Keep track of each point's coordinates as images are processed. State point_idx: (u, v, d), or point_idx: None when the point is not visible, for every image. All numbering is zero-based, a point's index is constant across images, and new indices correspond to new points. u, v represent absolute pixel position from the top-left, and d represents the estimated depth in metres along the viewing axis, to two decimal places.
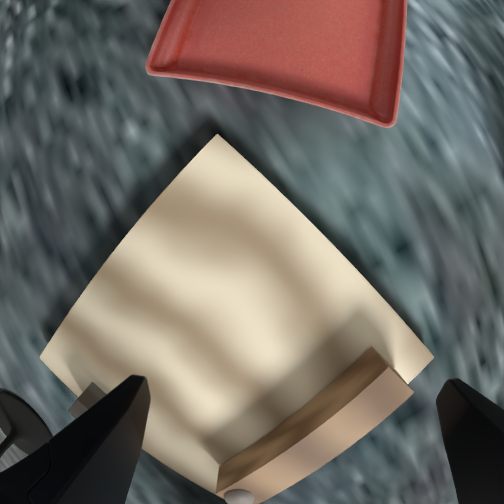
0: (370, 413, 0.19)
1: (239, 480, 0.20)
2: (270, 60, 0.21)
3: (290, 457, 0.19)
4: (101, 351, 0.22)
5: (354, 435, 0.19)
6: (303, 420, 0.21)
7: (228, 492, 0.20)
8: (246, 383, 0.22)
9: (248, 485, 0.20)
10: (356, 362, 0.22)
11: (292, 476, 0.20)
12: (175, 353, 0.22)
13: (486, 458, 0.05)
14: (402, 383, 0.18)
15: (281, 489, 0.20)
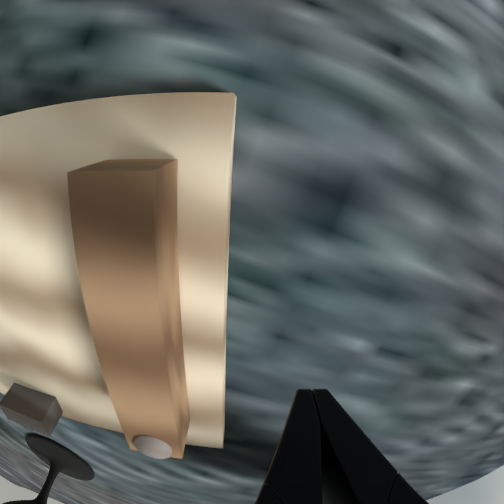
0: (119, 254, 0.11)
1: (121, 424, 0.16)
2: None
3: (116, 374, 0.14)
4: None
5: (143, 302, 0.12)
6: None
7: (135, 443, 0.16)
8: (57, 304, 0.17)
9: (135, 428, 0.15)
10: None
11: (155, 399, 0.14)
12: (8, 315, 0.17)
13: (331, 493, 0.05)
14: (112, 174, 0.10)
15: (171, 421, 0.15)
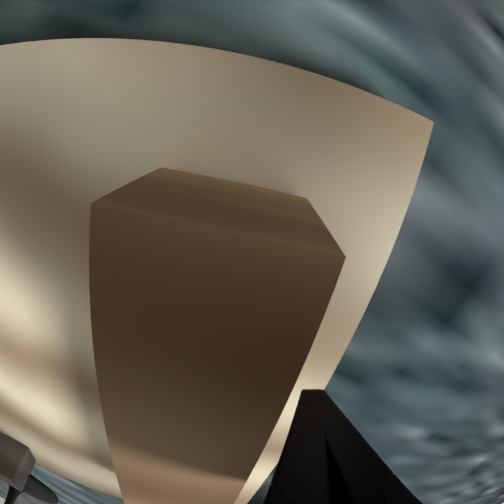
0: (203, 399, 0.05)
1: None
2: None
3: (144, 501, 0.07)
4: None
5: (228, 458, 0.06)
6: None
7: None
8: (44, 366, 0.10)
9: None
10: None
11: None
12: None
13: None
14: (231, 242, 0.04)
15: None
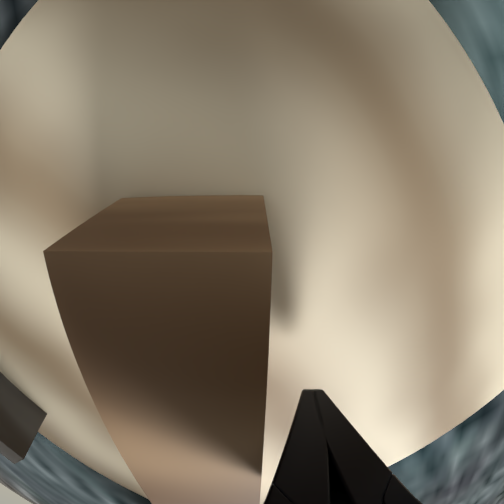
0: (187, 408, 0.05)
1: None
2: None
3: None
4: None
5: (233, 461, 0.06)
6: None
7: None
8: None
9: None
10: None
11: None
12: None
13: None
14: (158, 261, 0.04)
15: None
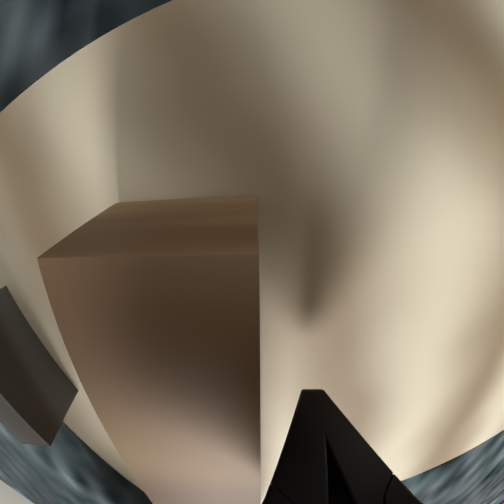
0: (183, 409, 0.05)
1: None
2: None
3: None
4: (47, 226, 0.08)
5: (231, 461, 0.06)
6: None
7: None
8: (346, 402, 0.10)
9: None
10: None
11: None
12: None
13: None
14: (147, 265, 0.04)
15: None
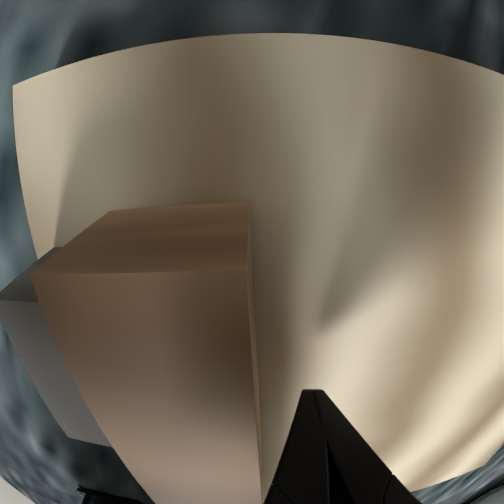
0: (179, 418, 0.05)
1: None
2: None
3: None
4: (228, 201, 0.08)
5: (230, 466, 0.06)
6: None
7: None
8: (396, 424, 0.11)
9: None
10: None
11: None
12: (386, 332, 0.09)
13: None
14: (135, 281, 0.04)
15: None
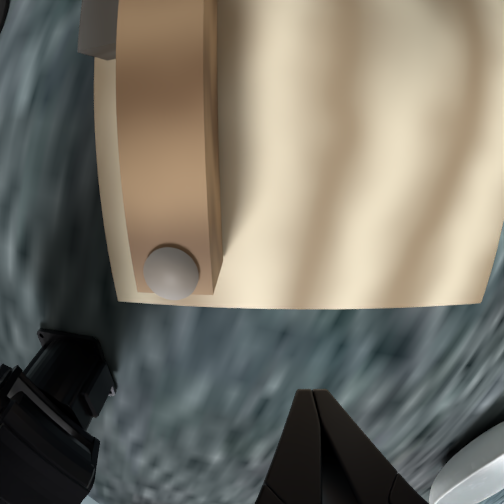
0: None
1: (128, 232, 0.13)
2: None
3: (134, 119, 0.11)
4: None
5: (185, 6, 0.09)
6: None
7: (145, 273, 0.13)
8: (341, 119, 0.14)
9: (147, 231, 0.13)
10: None
11: (182, 152, 0.11)
12: (303, 13, 0.12)
13: (331, 493, 0.05)
14: None
15: (201, 198, 0.12)
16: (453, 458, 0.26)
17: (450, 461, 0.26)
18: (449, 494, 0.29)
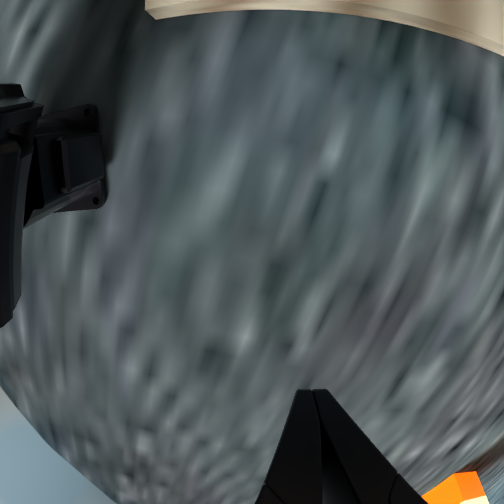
0: None
1: None
2: None
3: None
4: None
5: None
6: None
7: None
8: None
9: None
10: None
11: None
12: None
13: (331, 493, 0.05)
14: None
15: None
16: None
17: None
18: None
